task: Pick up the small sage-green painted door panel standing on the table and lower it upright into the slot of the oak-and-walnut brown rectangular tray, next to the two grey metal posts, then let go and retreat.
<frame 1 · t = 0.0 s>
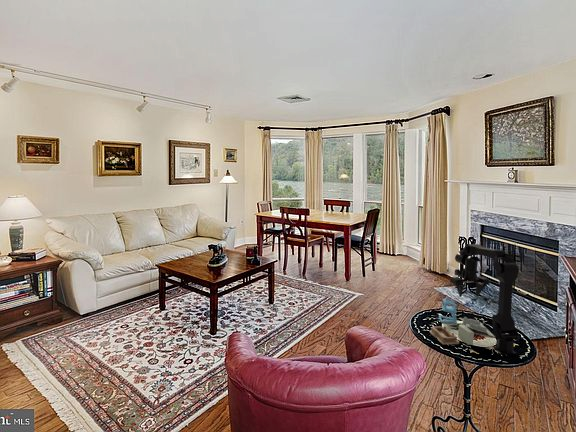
hand: (468, 296, 181), 15 cm above the table, fingers open, 9 cm apart
brown rectangular tray: (444, 337, 166), on the table
metal bracket: (475, 330, 176), on the table
door: (465, 340, 164), on the table
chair: (448, 320, 186), on the table
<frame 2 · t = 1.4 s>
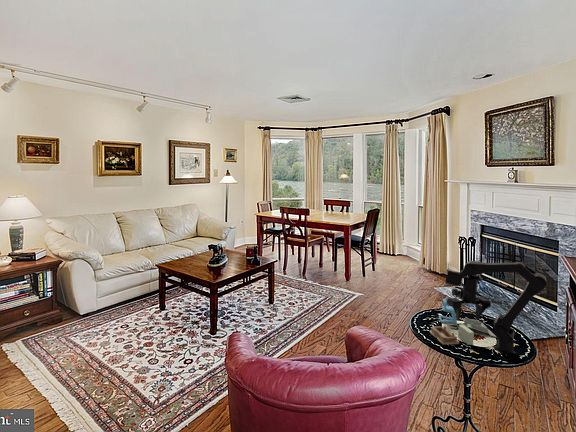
hand: (467, 319, 163), 10 cm above the table, fingers open, 9 cm apart
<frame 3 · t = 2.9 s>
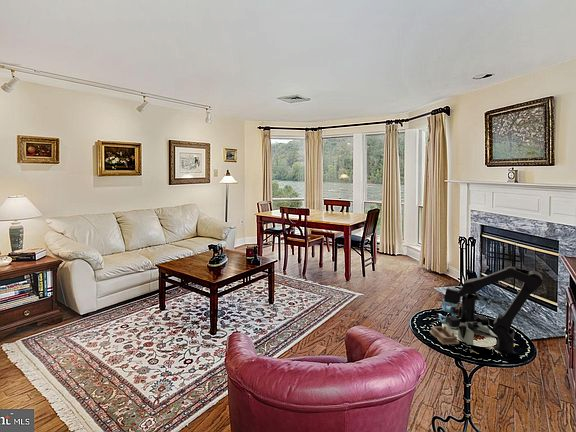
hand: (465, 337, 164), 1 cm above the table, fingers closed on door, 2 cm apart
door: (465, 340, 164), on the table, touching gripper
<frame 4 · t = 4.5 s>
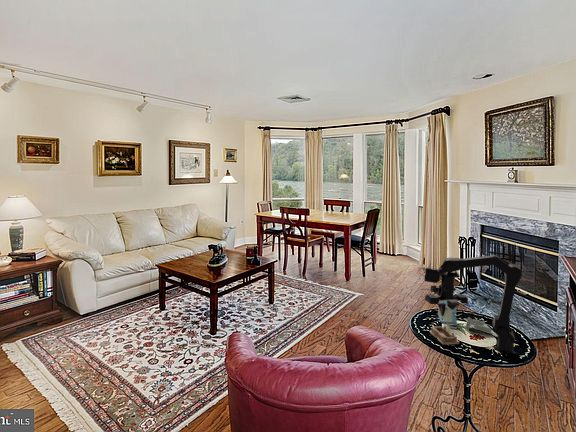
hand: (444, 316, 165), 11 cm above the table, fingers closed on door, 2 cm apart
door: (444, 318, 165), point 10 cm above the table, touching gripper
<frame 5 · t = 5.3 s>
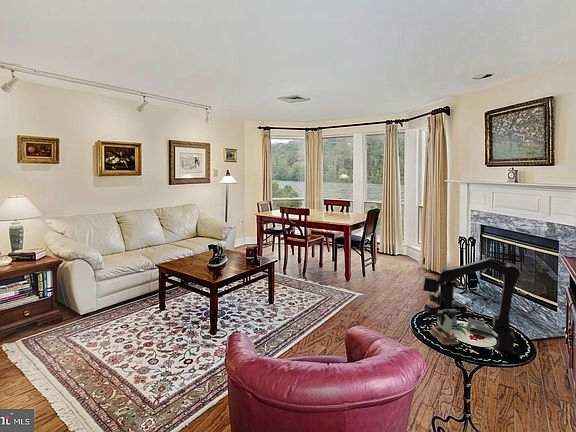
hand: (444, 325, 166), 6 cm above the table, fingers closed on door, 2 cm apart
door: (443, 328, 166), point 5 cm above the table, touching gripper
when the fingers open (3 cm above the table, at t = 6.0 s): door drops 1 cm, resting on brown rectangular tray.
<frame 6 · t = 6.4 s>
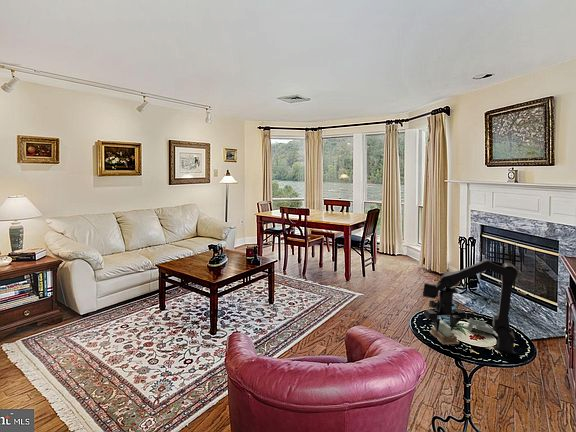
hand: (443, 331, 166), 3 cm above the table, fingers open, 7 cm apart
door: (443, 335, 166), point 1 cm above the table, touching brown rectangular tray
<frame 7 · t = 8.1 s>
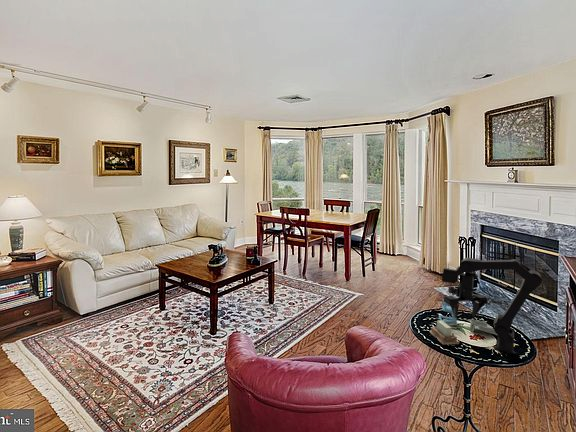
hand: (464, 317, 163), 12 cm above the table, fingers open, 9 cm apart
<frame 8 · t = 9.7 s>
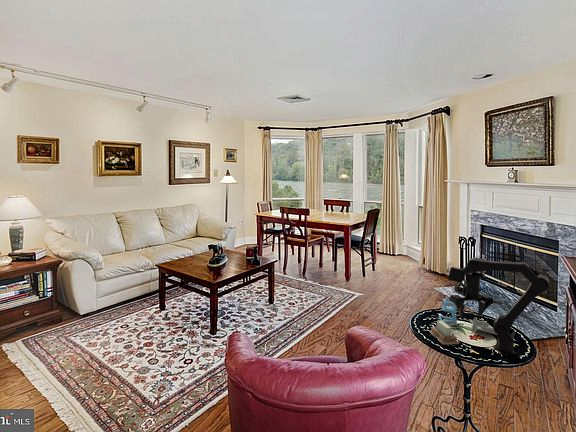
hand: (469, 316, 162), 12 cm above the table, fingers open, 9 cm apart
at the end: door 0.1 cm off-centre on the brown rectangular tray, point 1.0 cm above the brown rectangular tray's base; door tilted 0°; the gripper is holding nothing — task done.
